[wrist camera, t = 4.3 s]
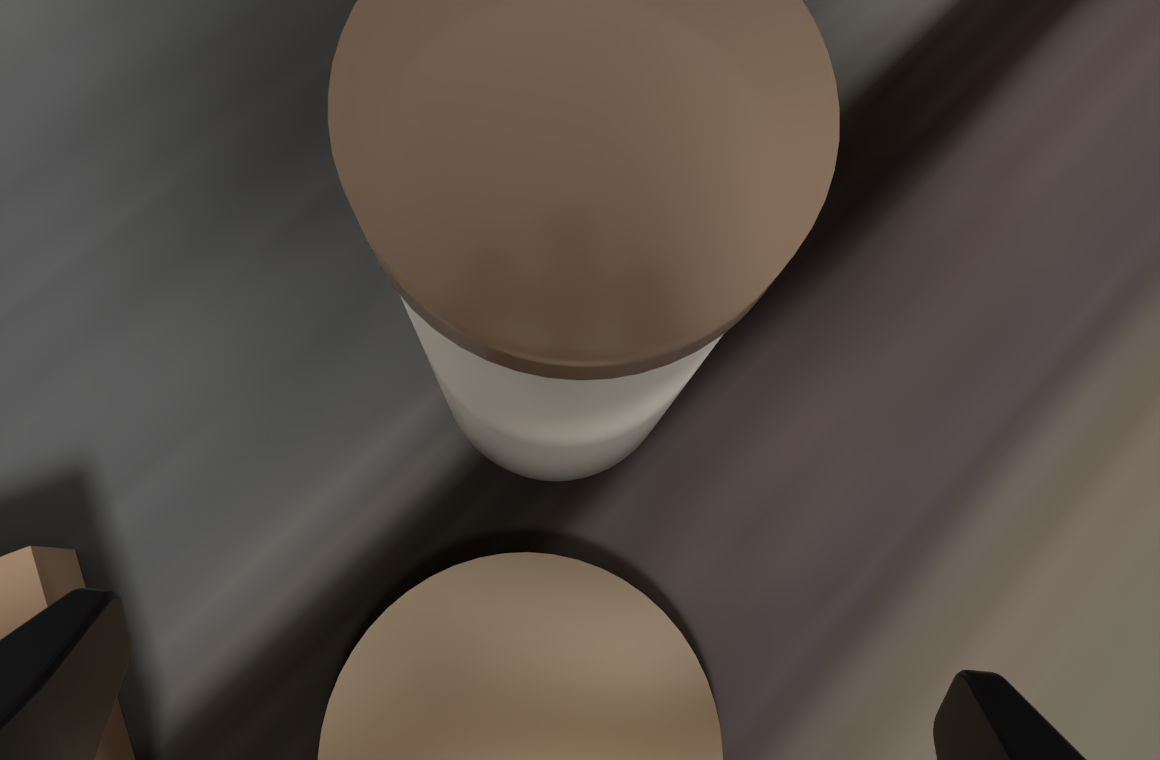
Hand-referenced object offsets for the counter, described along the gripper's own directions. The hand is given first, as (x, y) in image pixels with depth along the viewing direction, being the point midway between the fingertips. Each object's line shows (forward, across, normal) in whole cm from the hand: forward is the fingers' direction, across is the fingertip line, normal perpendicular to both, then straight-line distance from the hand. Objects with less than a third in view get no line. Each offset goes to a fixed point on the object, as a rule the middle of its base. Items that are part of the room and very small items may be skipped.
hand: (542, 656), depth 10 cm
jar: (+13, 0, +4) cm, 14 cm away
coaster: (+6, 0, +11) cm, 13 cm away
